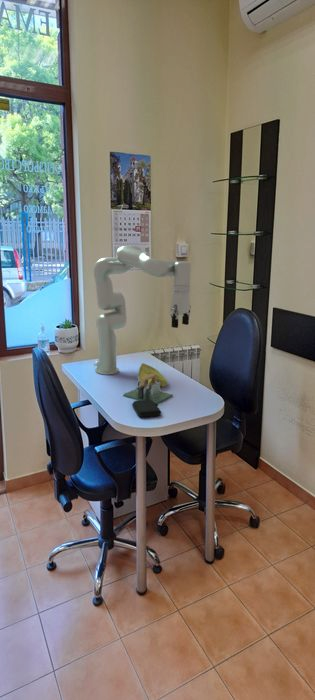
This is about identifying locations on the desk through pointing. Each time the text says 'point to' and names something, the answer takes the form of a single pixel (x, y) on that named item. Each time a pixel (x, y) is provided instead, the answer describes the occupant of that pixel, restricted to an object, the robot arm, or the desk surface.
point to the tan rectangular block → (147, 379)
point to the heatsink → (148, 392)
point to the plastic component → (149, 370)
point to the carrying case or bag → (146, 408)
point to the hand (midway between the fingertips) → (180, 325)
